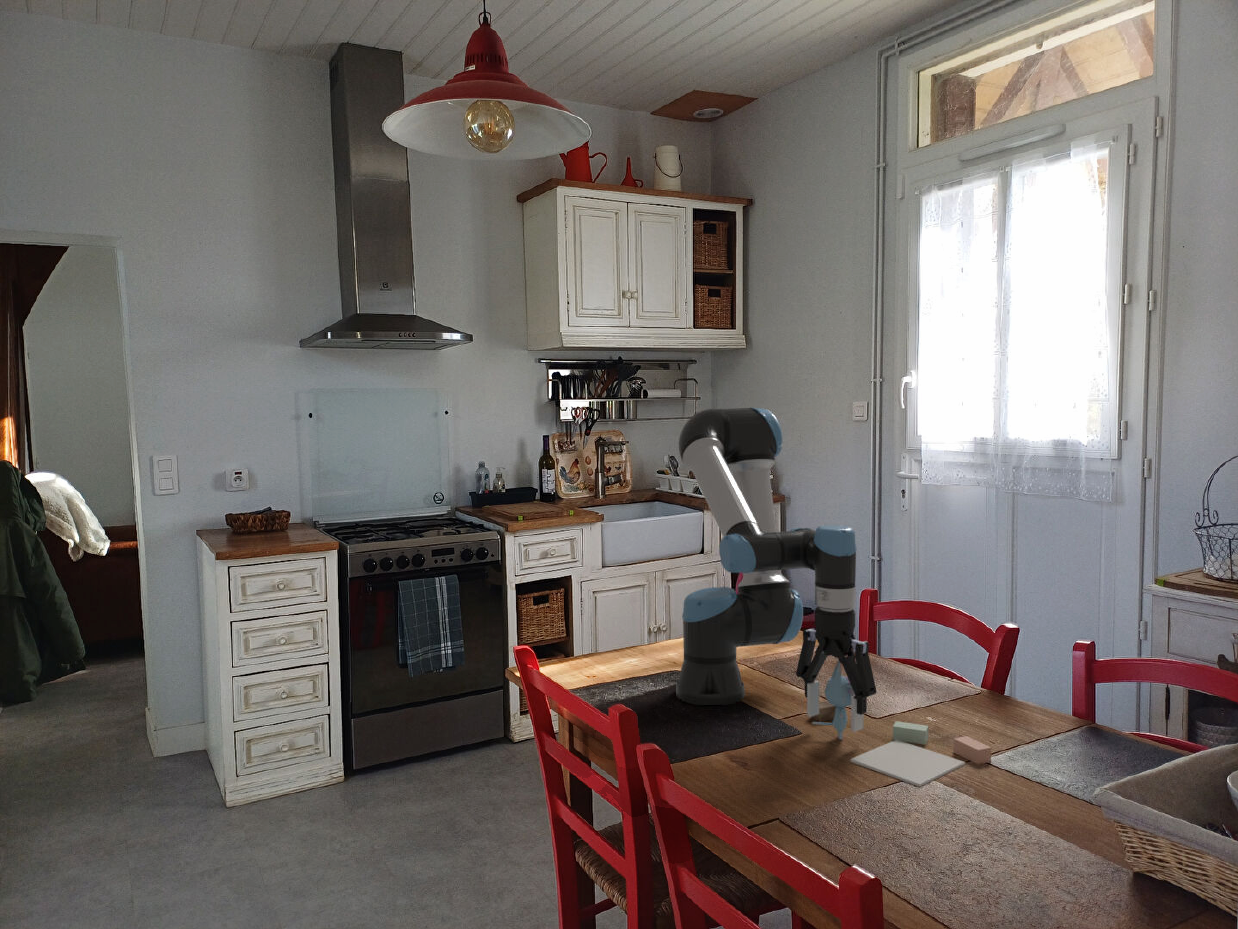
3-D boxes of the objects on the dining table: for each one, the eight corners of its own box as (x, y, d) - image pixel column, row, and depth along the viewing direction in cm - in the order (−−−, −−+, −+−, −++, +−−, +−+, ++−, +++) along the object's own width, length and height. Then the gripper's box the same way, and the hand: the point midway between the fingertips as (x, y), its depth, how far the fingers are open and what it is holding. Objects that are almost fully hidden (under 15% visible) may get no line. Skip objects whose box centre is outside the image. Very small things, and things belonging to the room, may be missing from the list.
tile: (850, 762, 161) (850, 759, 161) (896, 742, 170) (896, 739, 170) (919, 787, 150) (919, 784, 150) (965, 765, 159) (965, 762, 159)
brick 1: (819, 723, 181) (819, 708, 181) (811, 718, 184) (811, 704, 184) (844, 718, 184) (844, 704, 183) (835, 714, 186) (835, 700, 186)
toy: (836, 747, 168) (846, 671, 167) (810, 733, 173) (820, 660, 172) (860, 741, 172) (870, 667, 170) (834, 728, 177) (844, 656, 176)
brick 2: (892, 741, 171) (892, 726, 171) (895, 736, 174) (895, 721, 174) (925, 746, 168) (925, 731, 168) (928, 741, 171) (928, 726, 171)
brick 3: (953, 754, 165) (953, 738, 164) (966, 752, 166) (966, 736, 165) (977, 766, 159) (978, 750, 159) (990, 764, 160) (991, 747, 160)
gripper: (776, 600, 177) (777, 711, 179) (872, 621, 160) (872, 744, 161) (801, 595, 182) (801, 703, 183) (897, 614, 164) (896, 733, 166)
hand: (834, 722), depth 172 cm, fingers open, 10 cm apart
